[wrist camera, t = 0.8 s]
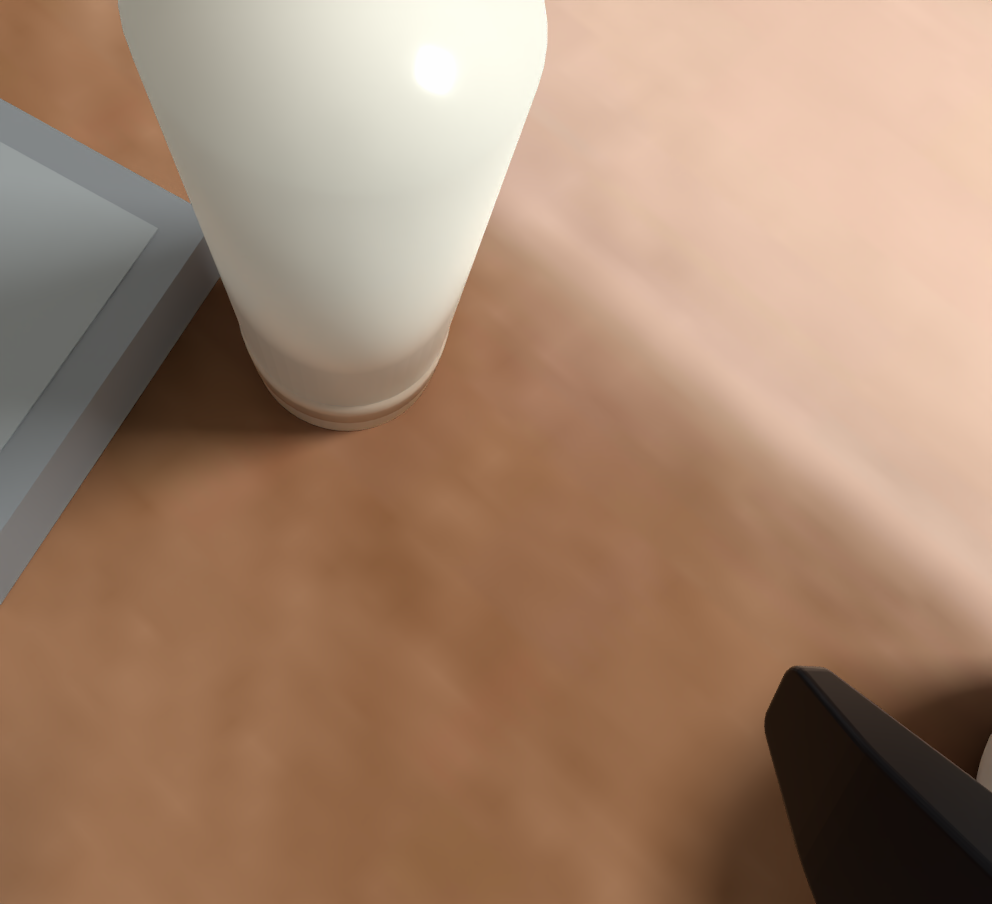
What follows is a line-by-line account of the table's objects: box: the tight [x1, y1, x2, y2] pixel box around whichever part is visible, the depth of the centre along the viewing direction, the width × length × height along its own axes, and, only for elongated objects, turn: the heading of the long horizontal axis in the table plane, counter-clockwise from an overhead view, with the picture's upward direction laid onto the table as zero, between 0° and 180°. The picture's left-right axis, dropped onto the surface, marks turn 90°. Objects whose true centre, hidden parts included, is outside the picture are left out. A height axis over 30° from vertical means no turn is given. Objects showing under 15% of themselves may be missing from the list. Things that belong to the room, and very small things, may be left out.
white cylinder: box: [118, 0, 547, 431], centre depth 16 cm, size 5×5×13 cm
